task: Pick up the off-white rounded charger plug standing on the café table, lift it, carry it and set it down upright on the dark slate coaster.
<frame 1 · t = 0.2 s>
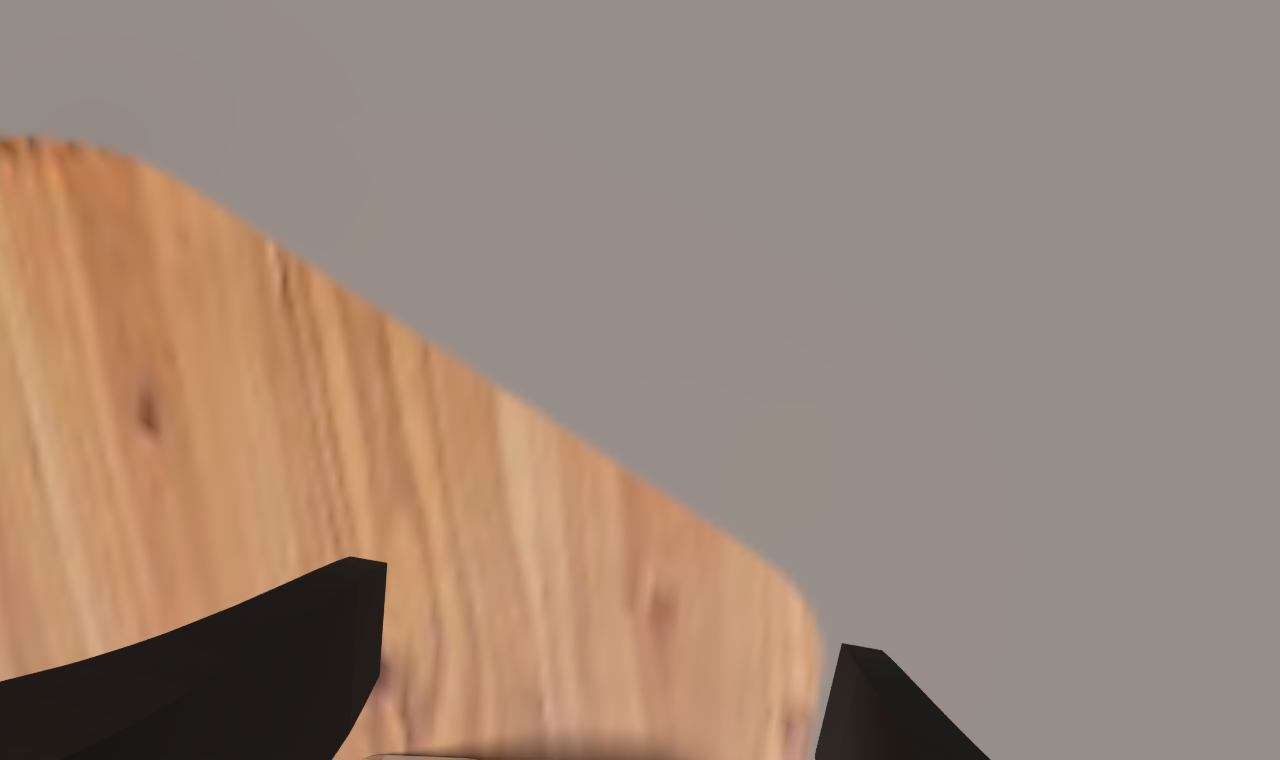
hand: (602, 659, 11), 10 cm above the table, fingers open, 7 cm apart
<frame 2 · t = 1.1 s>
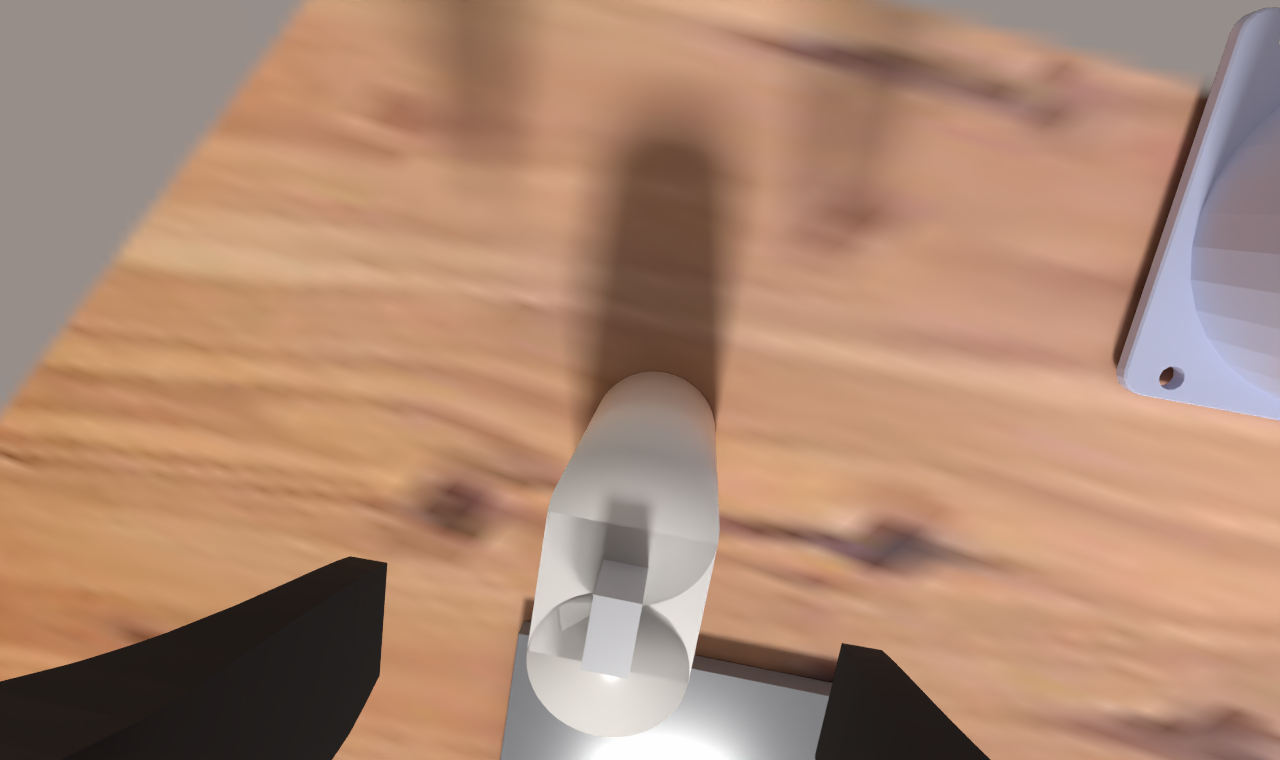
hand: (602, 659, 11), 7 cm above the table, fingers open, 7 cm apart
charger plug: (644, 483, 19), on the table
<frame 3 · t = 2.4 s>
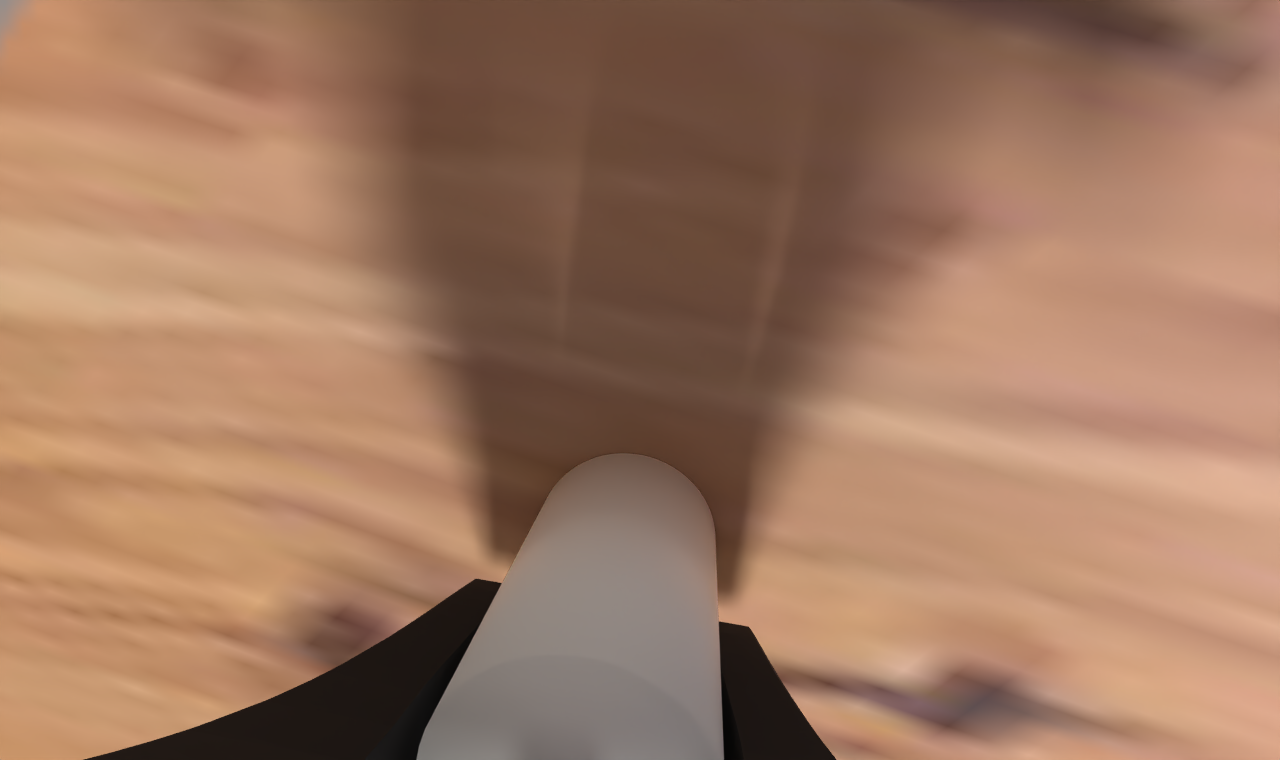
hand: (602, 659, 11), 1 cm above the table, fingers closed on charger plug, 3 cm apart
charger plug: (613, 610, 13), on the table, touching gripper
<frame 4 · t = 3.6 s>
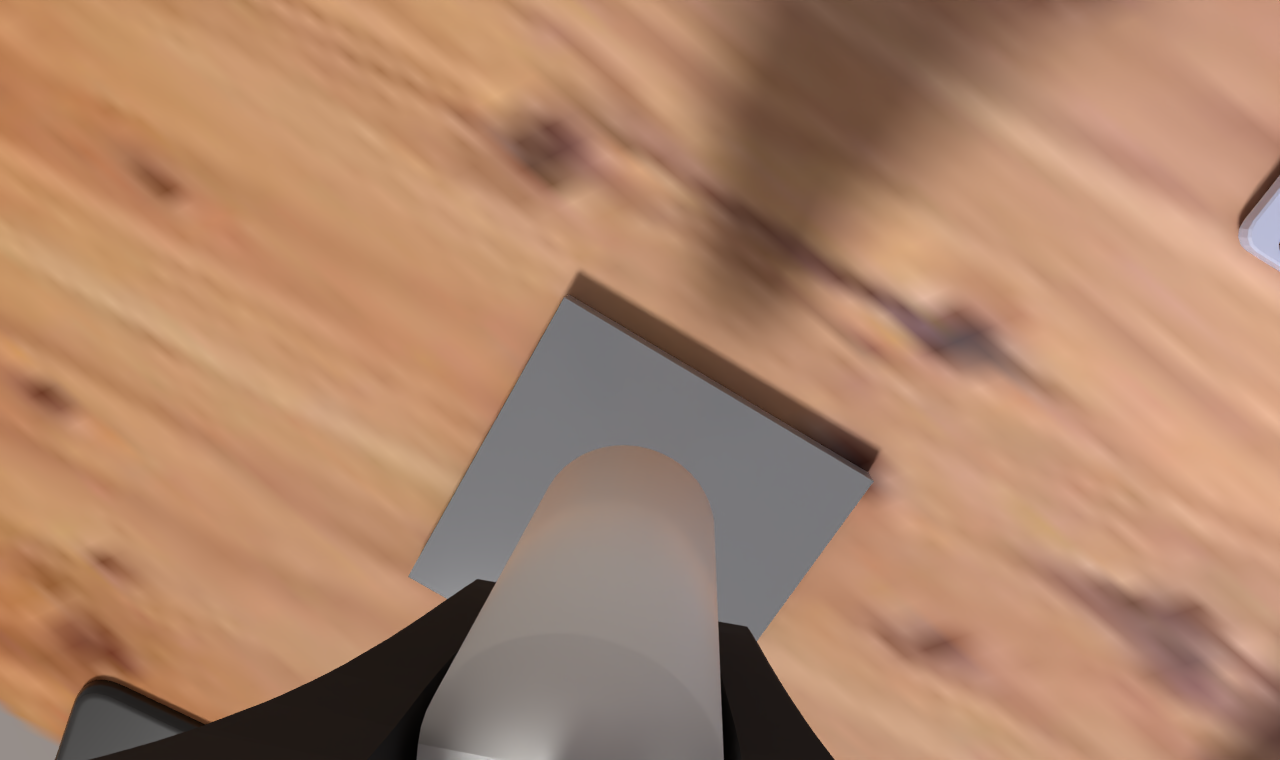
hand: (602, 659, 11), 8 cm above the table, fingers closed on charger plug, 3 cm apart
charger plug: (614, 602, 13), point 7 cm above the table, touching gripper
slate coaster: (632, 521, 20), on the table
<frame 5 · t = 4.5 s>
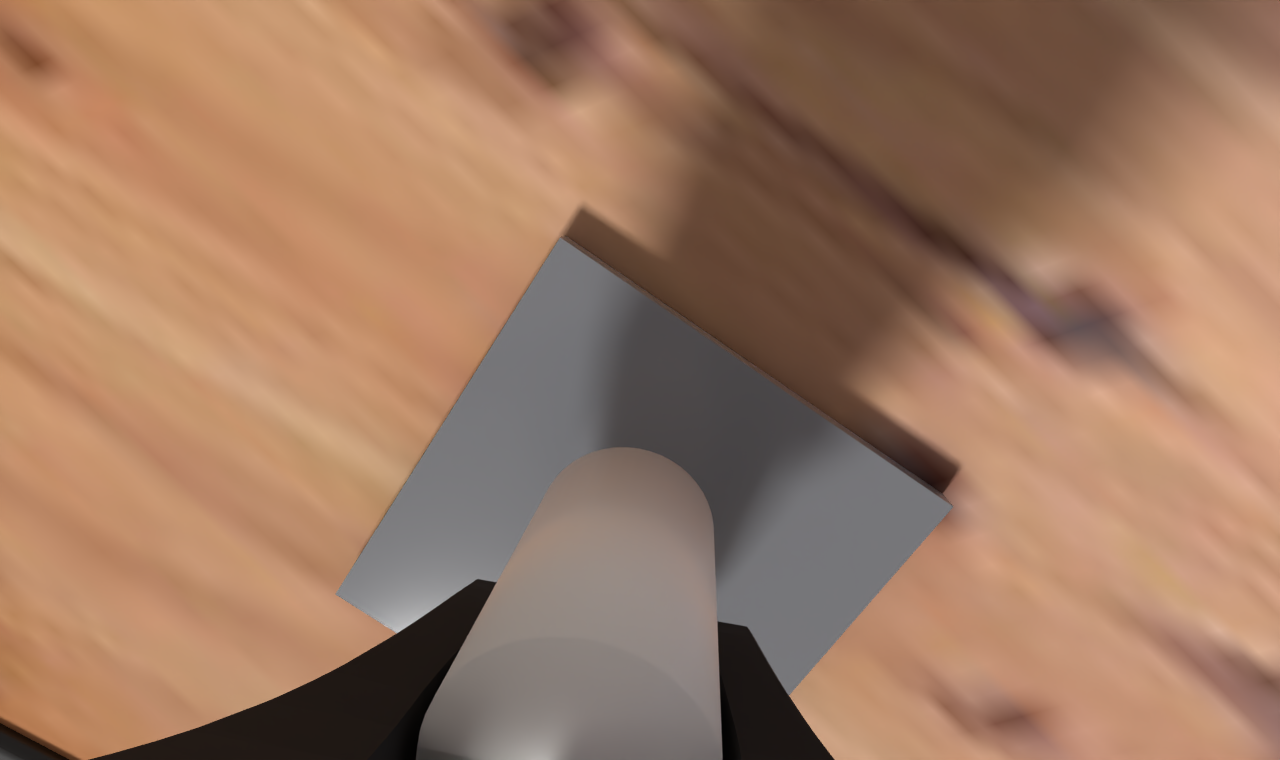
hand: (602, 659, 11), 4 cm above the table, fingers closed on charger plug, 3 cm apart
charger plug: (614, 604, 13), point 3 cm above the table, touching gripper
slate coaster: (630, 539, 16), on the table
when the fingers open (3 cm above the table, at t = 5.1 s): charger plug stays where it is, resting on slate coaster.
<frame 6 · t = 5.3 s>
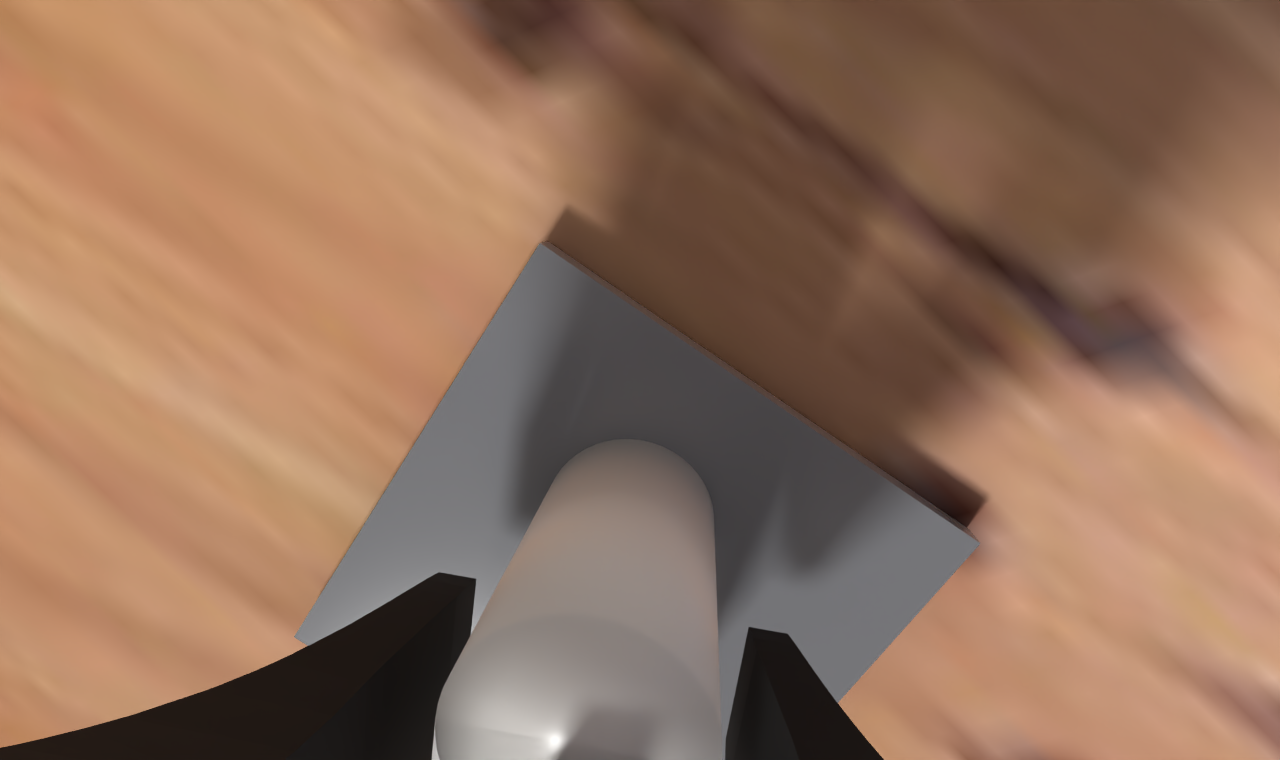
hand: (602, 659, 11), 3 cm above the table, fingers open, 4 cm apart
charger plug: (618, 590, 13), point 1 cm above the table, touching slate coaster
slate coaster: (620, 576, 14), on the table
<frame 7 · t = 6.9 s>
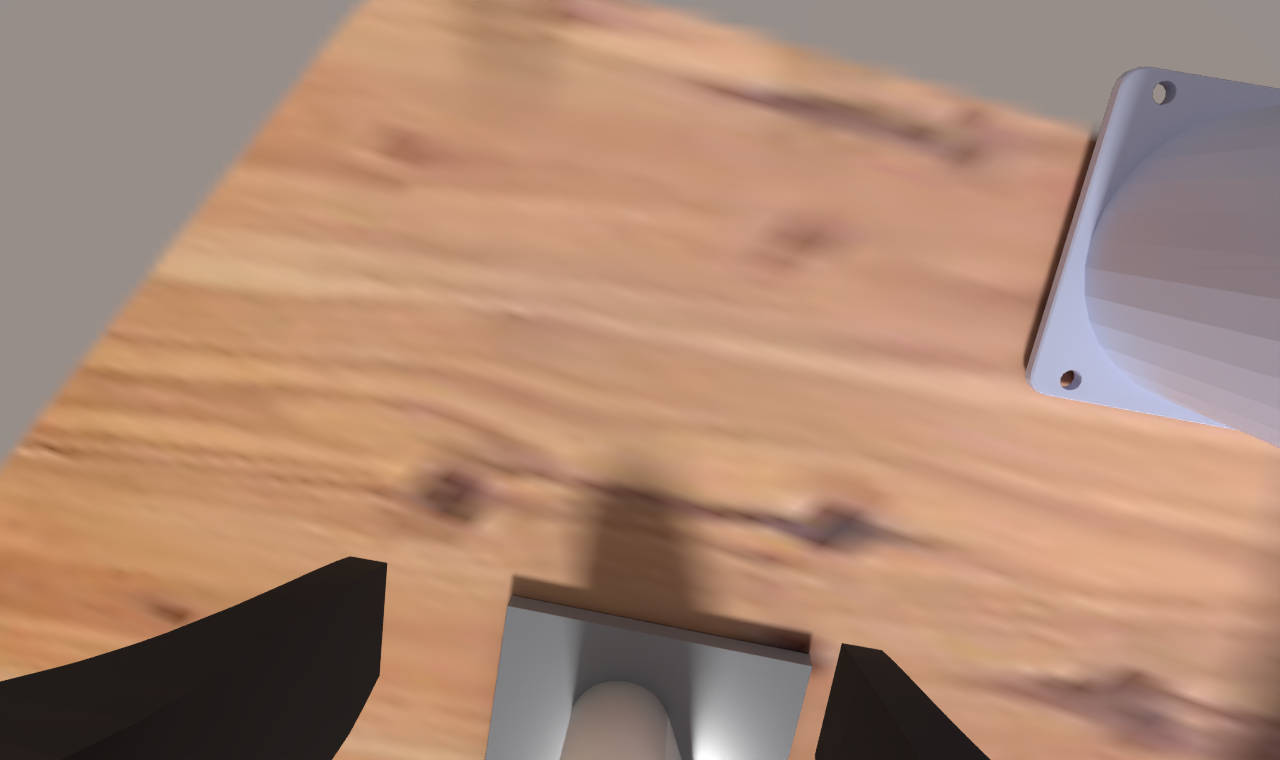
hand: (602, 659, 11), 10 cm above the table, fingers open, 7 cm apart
slate coaster: (634, 750, 23), on the table
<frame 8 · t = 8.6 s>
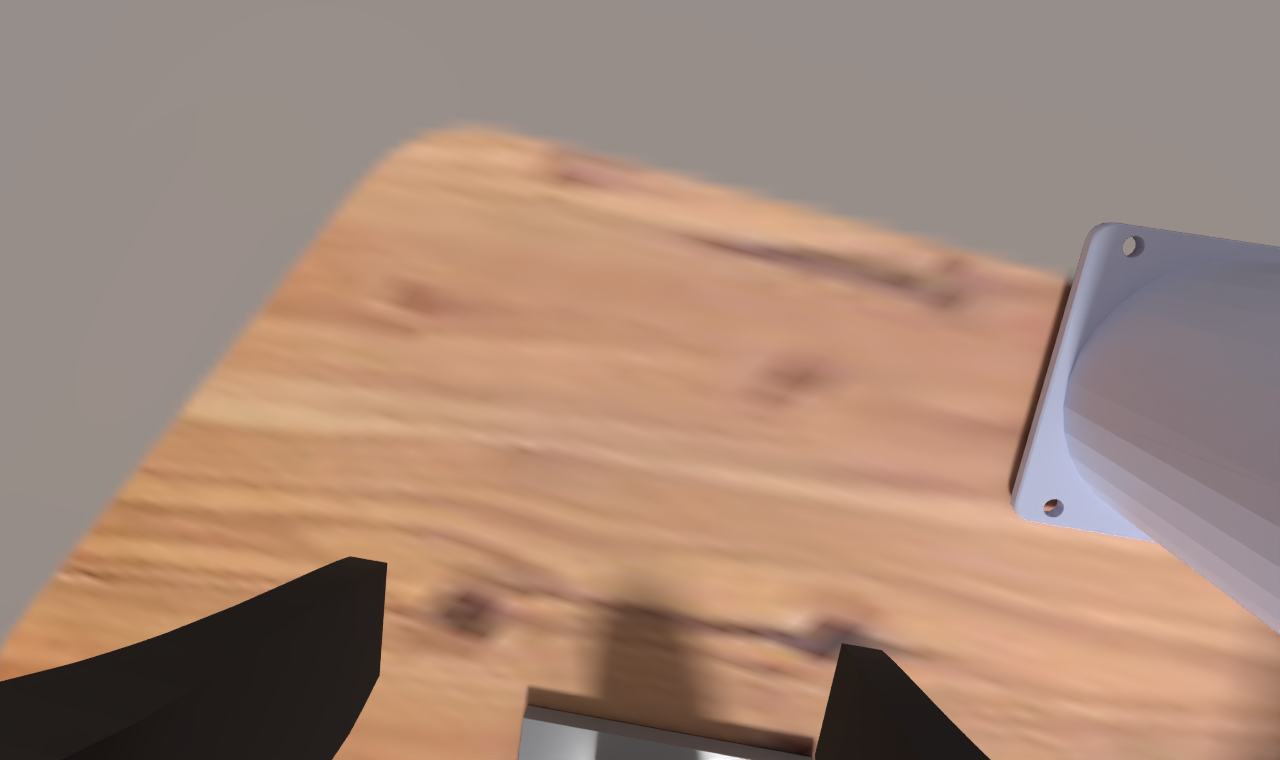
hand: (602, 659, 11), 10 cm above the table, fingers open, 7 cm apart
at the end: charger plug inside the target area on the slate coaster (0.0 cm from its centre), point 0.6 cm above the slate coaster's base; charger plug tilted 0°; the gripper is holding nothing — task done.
